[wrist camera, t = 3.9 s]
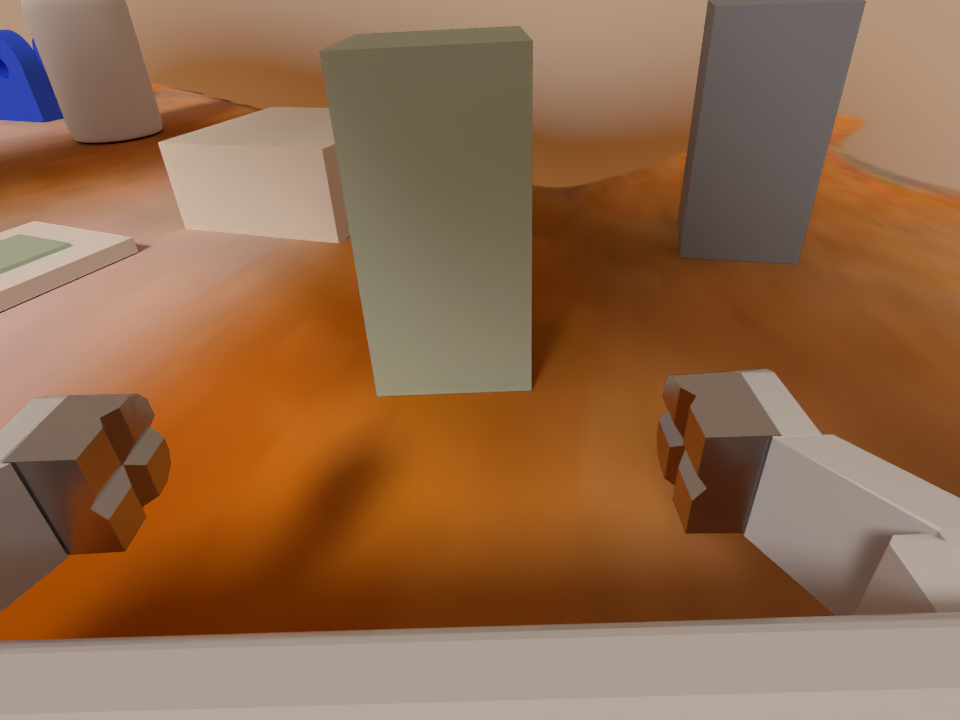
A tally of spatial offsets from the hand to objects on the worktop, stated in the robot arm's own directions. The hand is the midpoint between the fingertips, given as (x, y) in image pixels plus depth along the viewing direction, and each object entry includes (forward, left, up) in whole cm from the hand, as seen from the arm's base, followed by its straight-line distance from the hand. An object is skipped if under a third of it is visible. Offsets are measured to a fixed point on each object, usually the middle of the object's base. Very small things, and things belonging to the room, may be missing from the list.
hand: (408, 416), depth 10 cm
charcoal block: (+4, +24, -5) cm, 25 cm away
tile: (-28, +9, -5) cm, 30 cm away
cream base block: (-20, +22, -6) cm, 30 cm away
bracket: (-77, +41, -6) cm, 88 cm away
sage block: (-4, +10, -5) cm, 12 cm away
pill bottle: (-52, +34, -6) cm, 63 cm away
